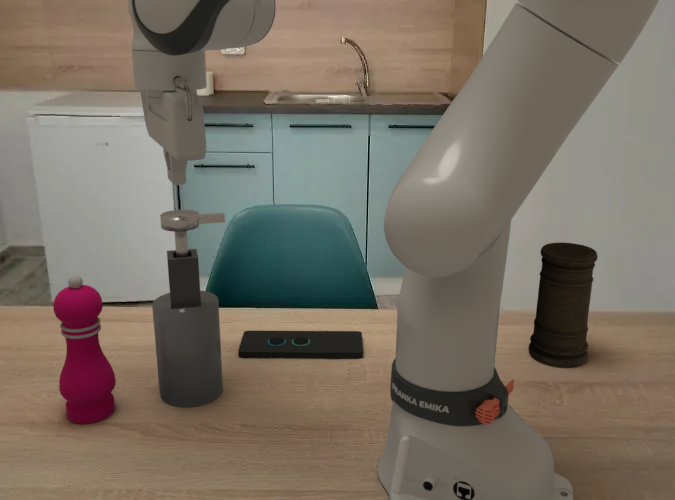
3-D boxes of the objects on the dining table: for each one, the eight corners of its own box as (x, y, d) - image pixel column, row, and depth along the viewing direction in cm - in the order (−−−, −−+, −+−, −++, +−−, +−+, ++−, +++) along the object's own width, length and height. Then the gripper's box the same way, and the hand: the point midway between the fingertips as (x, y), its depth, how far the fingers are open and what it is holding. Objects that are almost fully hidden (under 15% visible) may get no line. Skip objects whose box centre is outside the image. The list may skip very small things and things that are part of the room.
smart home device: (244, 329, 118) (361, 329, 118) (244, 338, 119) (361, 339, 119) (237, 351, 110) (363, 352, 110) (237, 361, 111) (363, 362, 111)
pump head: (225, 265, 99) (222, 207, 96) (228, 277, 94) (226, 216, 91) (164, 270, 97) (160, 210, 94) (165, 283, 92) (160, 220, 89)
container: (598, 362, 110) (613, 255, 104) (552, 372, 107) (564, 262, 101) (561, 339, 118) (573, 238, 112) (517, 347, 115) (527, 244, 109)
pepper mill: (126, 399, 99) (113, 267, 92) (105, 427, 92) (89, 286, 85) (77, 396, 99) (61, 264, 93) (53, 424, 92) (33, 284, 86)
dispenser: (220, 372, 106) (213, 242, 99) (225, 403, 98) (218, 262, 91) (159, 379, 104) (148, 246, 97) (160, 411, 96) (147, 268, 89)
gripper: (216, 80, 79) (221, 198, 83) (178, 68, 96) (184, 166, 101) (160, 81, 76) (168, 203, 81) (131, 68, 94) (139, 169, 98)
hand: (177, 182), depth 91 cm, fingers closed
